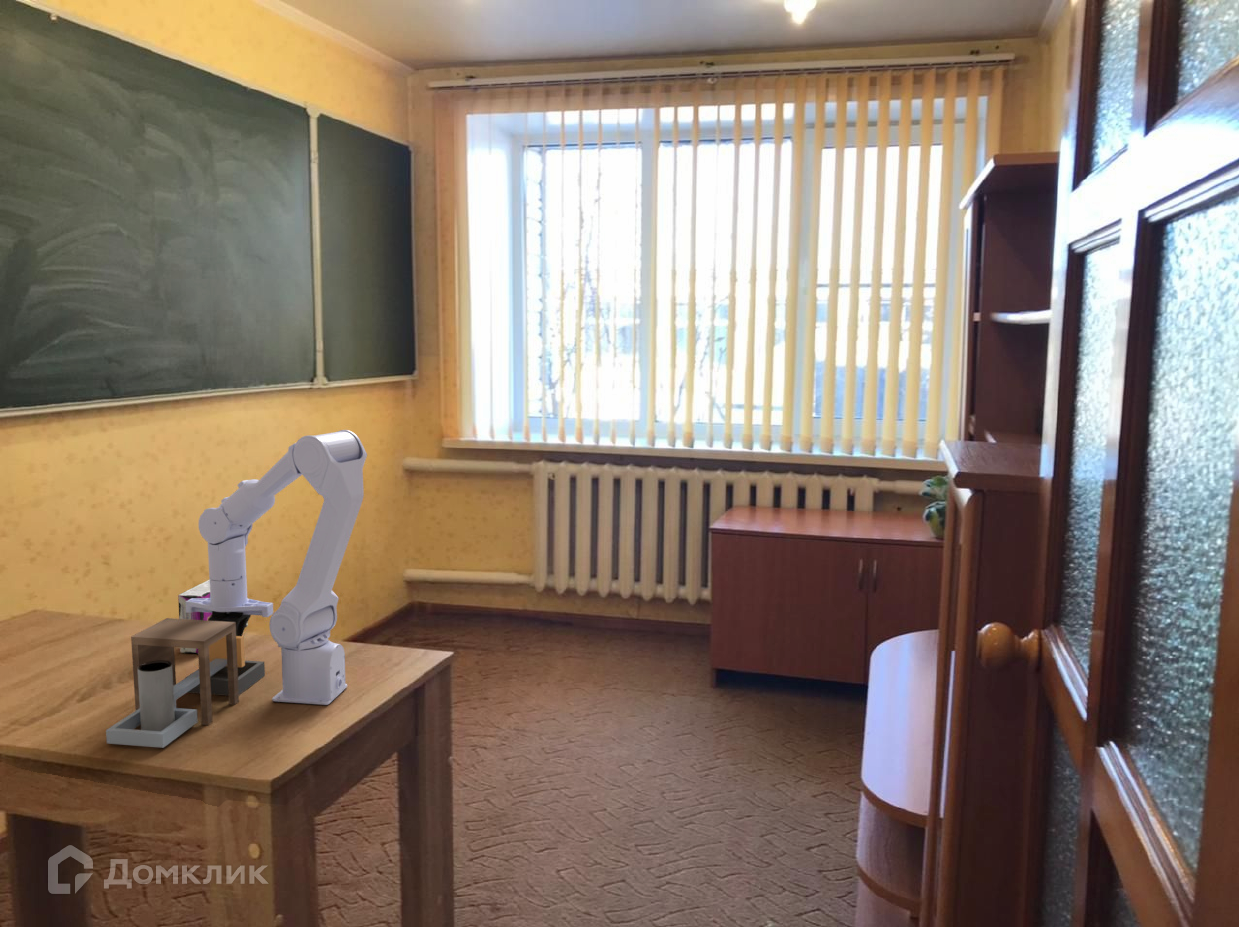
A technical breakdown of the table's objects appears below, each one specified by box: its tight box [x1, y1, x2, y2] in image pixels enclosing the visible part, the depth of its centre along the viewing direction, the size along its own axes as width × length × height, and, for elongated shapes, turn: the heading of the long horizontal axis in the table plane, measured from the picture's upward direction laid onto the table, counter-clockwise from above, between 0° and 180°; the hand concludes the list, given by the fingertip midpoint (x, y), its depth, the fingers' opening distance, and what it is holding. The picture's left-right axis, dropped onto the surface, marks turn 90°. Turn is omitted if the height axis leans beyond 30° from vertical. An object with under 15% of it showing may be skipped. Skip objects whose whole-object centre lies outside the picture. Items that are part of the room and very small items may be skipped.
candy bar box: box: [177, 579, 249, 655], centre depth 177 cm, size 11×5×16 cm
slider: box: [105, 635, 246, 749], centre depth 144 cm, size 9×24×8 cm, turn 173°
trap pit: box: [186, 659, 266, 696], centre depth 156 cm, size 9×9×2 cm
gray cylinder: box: [138, 660, 175, 732], centre depth 137 cm, size 4×4×10 cm
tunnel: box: [130, 617, 240, 726], centre depth 144 cm, size 12×9×13 cm
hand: (231, 654), depth 158 cm, fingers closed, pressing on slider
